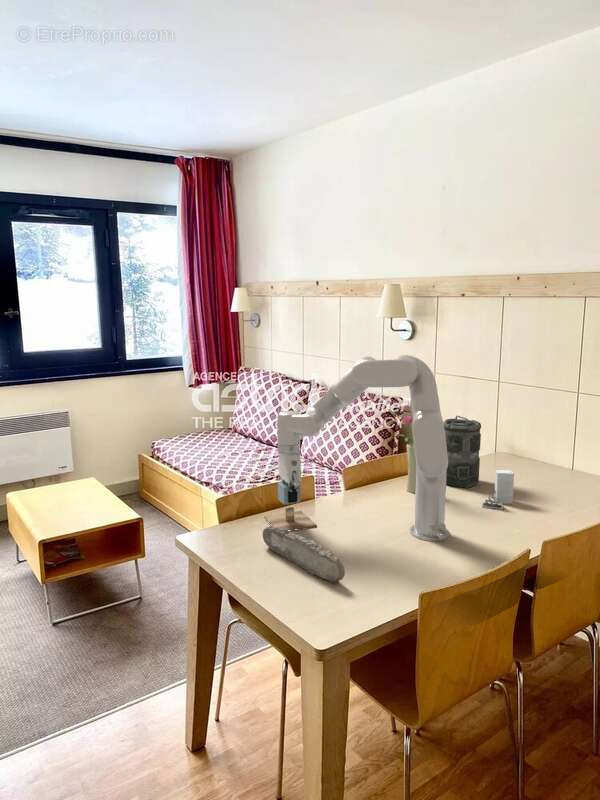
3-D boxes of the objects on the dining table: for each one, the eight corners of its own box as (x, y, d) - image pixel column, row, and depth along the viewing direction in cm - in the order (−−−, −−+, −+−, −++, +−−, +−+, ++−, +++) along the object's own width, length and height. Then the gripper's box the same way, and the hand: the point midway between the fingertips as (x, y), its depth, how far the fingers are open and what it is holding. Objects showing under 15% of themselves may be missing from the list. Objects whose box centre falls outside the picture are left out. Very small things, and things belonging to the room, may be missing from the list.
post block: (316, 528, 197) (316, 512, 196) (277, 535, 192) (277, 518, 191) (301, 514, 210) (300, 498, 209) (264, 520, 204) (263, 504, 203)
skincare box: (510, 500, 222) (511, 470, 220) (512, 504, 218) (514, 473, 215) (493, 499, 222) (495, 469, 220) (495, 503, 218) (497, 473, 216)
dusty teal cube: (300, 502, 197) (300, 485, 196) (283, 504, 195) (283, 487, 194) (294, 496, 203) (294, 480, 202) (277, 498, 201) (277, 482, 200)
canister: (431, 479, 247) (433, 415, 242) (461, 474, 253) (463, 411, 248) (456, 490, 233) (459, 422, 228) (486, 485, 239) (490, 418, 234)
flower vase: (407, 500, 223) (409, 410, 216) (385, 491, 233) (387, 405, 226) (429, 494, 229) (432, 407, 223) (407, 485, 239) (409, 402, 233)
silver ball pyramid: (510, 505, 218) (512, 485, 216) (506, 513, 210) (507, 493, 209) (486, 501, 222) (487, 482, 220) (481, 508, 214) (482, 489, 213)
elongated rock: (257, 551, 181) (256, 521, 179) (270, 546, 184) (270, 516, 182) (338, 593, 155) (338, 558, 153) (352, 587, 158) (352, 552, 157)
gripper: (309, 453, 189) (309, 505, 193) (290, 440, 205) (290, 489, 208) (287, 455, 186) (287, 509, 190) (269, 442, 202) (270, 492, 205)
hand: (289, 498), depth 199 cm, fingers closed on dusty teal cube, 6 cm apart
